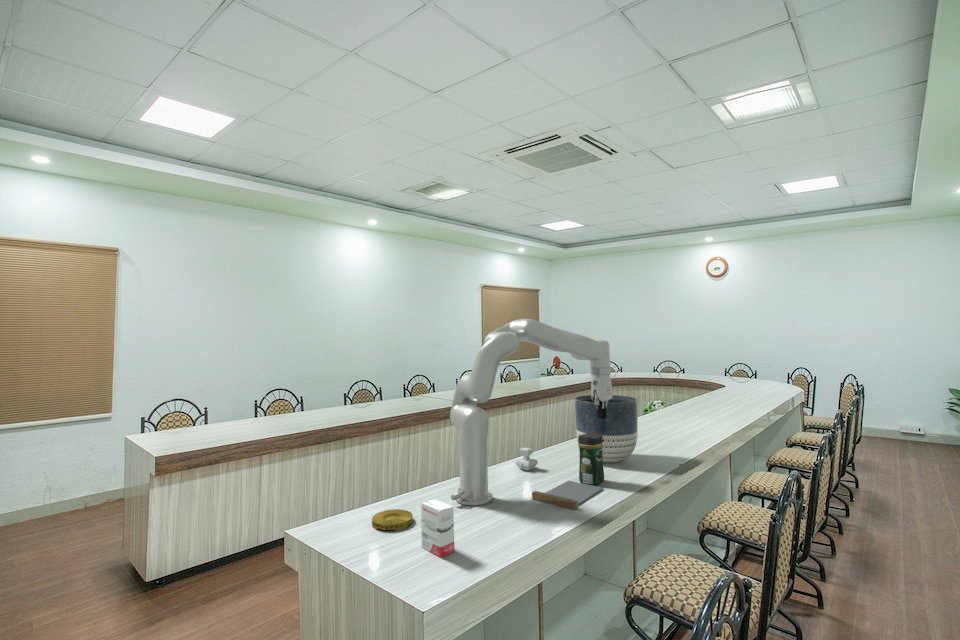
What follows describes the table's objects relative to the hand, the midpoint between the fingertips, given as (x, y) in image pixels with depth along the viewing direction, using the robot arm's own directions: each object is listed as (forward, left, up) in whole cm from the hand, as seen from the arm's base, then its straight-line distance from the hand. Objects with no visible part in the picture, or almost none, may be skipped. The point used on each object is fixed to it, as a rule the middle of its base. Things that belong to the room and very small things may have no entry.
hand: (602, 418), depth 183 cm
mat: (-26, 0, -22) cm, 34 cm away
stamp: (-10, +29, -23) cm, 38 cm away
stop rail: (-38, 0, -22) cm, 44 cm away
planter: (+22, +8, -23) cm, 32 cm away
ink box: (-84, +8, -23) cm, 88 cm away
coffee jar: (-10, 0, -23) cm, 25 cm away
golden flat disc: (-80, +31, -23) cm, 89 cm away
